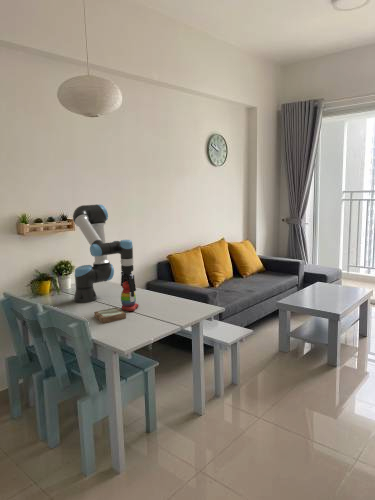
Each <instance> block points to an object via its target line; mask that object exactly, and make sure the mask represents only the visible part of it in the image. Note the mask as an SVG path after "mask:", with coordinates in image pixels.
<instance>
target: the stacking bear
mask: <svg viewBox="0 0 375 500" xmlns="http://www.w3.org/2000/svg"><path fill="white" fill-rule="evenodd" d="M123 289H124V290H123ZM129 291H130V288H129V284H128V282H127V281H125V282H124V283H123V288H122V291H121V295H120V302H121V309H122V311H128V312H133V311H136V308H139V307H140V305H139V303H136V302H137V301H136V300H137V296H136V291H134V300H135V301H133V302H130V292H129Z"/></svg>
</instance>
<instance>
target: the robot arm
mask: <svg viewBox="0 0 375 500" xmlns="http://www.w3.org/2000/svg"><path fill="white" fill-rule="evenodd" d="M73 211H74V212H73V214H72V221H73V223H74V224H75V226H76V227H78V228H79V229H80V231H81V232H82V234H83V236H84V237H85V239H86V240H87V243H88V244H89V245H90V246H89V253H90V256H92V257H94V262H93V263H92V265H91V264H84V265H80V266H77V267H76V268H75V269H74V279H75V280H74V283H75V291H74V295H73V300H74V302H75V303H80V304H82V303H84V304H85V303H91V302H94V301H96V300H97V298H98V297H97V296H98V295H97V294H96V291H95V289H94V284H97V283H98V284H99V283H103V282H107V281H108V282H109V281H111V280H112V279H113V277H114V274H115V269H114V266H113V264H112V263H111V262H110V261H109V259H108V255H109V256H110V255H116V254H117V255H120V264H121V266H120V271H121V273H120V275H121V276H120V286H121V288H122V291H123V290H124V289H123V283H124V282H125V281H127V282H128V284H129V288H130V291H129V292H130V302H133V301H135V300H134V292H136V291H137V288H136V282H135V274H132V273H133V271H134V248H133V247H134V246H133V241H132V240H131V239H121V240H114V241H112V242H106V236H105V235H106V234H105V227H104V226H105V225H106V221H108V218H109V213H108V210H107V207H105V205H103V204H86V205H85V204H84V205H79V206H78V207H76V208H75V209H74V210H73ZM135 302H136V301H135Z"/></svg>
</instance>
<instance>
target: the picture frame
mask: <svg viewBox="0 0 375 500" xmlns="http://www.w3.org/2000/svg"><path fill="white" fill-rule="evenodd" d="M94 318H96V319H97V320H98V321H99V322H101V323H102V324H107V323H111V322H117V321H120V320H121V321H122V320H124V319H127V313H126V312H124V310H121V309H119V308H118V307H112V308H108V309H102V310H97V311H94Z"/></svg>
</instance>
